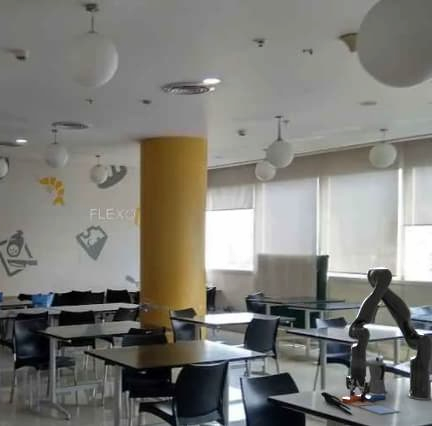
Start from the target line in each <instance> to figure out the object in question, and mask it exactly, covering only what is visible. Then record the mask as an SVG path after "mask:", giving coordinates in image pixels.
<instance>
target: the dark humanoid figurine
mask: <svg viewBox="0 0 432 426" xmlns="http://www.w3.org/2000/svg"><path fill="white" fill-rule="evenodd" d="M320 396H322V397H323V398H324V401H325V403H327V404H330V405H332V406H334V407H336V408H337V409H339V410H341V411H343V412H344V413H346V414H349V415H352V413H351V412H350V411H351V410H352V409H351V408H350V407H349V406H347V405H346V404H344V403H343V402H342V401H340V399H339V398H340V397H337V396H335V395H333V394H330V393H328V392H326V391H323V392H321V395H320ZM336 399H337V400H336Z"/></svg>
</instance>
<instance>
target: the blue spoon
mask: <svg viewBox="0 0 432 426" xmlns="http://www.w3.org/2000/svg"><path fill="white" fill-rule="evenodd" d="M386 398H387V396H386V393H376V394H371V395H366V400H365V401H367V402H371V403H374V402H375V401H379V400H385V399H386Z"/></svg>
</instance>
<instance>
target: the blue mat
mask: <svg viewBox="0 0 432 426" xmlns="http://www.w3.org/2000/svg"><path fill="white" fill-rule="evenodd" d="M359 408H360V409H364V410H366V411H369V412H372V413H375V414H377V415H385V414H396V413H399V410H396V409H392V408H391V407H390V408H389V407H386V406H383V405H381V404H375V405H366V406H359Z"/></svg>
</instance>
